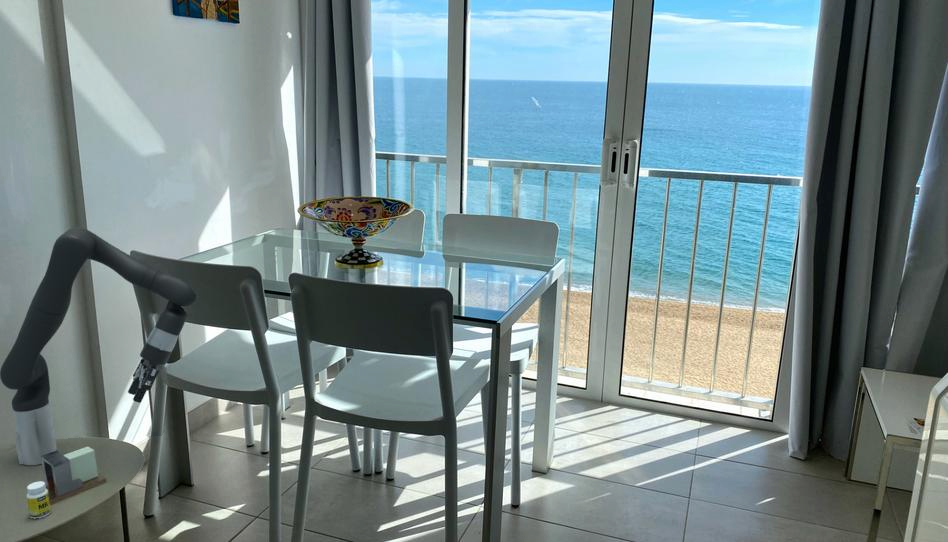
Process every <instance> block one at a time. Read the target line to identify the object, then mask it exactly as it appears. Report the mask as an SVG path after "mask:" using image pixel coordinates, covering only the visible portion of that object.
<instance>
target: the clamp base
mask: <svg viewBox="0 0 948 542" xmlns="http://www.w3.org/2000/svg"><path fill="white" fill-rule="evenodd" d="M64 455H65V454H62V453H61V452H60V451H58V449H57V450H56V451H54V452H51V453H48V454H45V455H42V456H41V460H42V464H41V466H42V470H43V477H44V482H45V486H46V489H47V490H48V495H49V501H50V506H51V505H54V504H57V503H59V502H61V501H63V500H66V499H68V498H70V497H71V498H72V497H73V496H76V495H78V494H81V493H83V492H85V491H88V490H90V489H93V488H96V487H97V486H100V485H103V484H106V483H107V477H105V476H104V475H102V474H101V473H99V472H98V476H97V477H95V478H92V479H90V480H87V481H85V482H82V480H81V479H80V478H78V479H76V480H73V479H72V473H71V467H70V461H69V459H68V458H67V457H65V456H64Z"/></svg>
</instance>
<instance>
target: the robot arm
mask: <svg viewBox="0 0 948 542" xmlns="http://www.w3.org/2000/svg"><path fill="white" fill-rule="evenodd" d="M87 260H91V261H94V262H97V263H99V264H102V265H104V266H107V267H108V268H110V269H111V270H113V271H114V272H115V273H117V274H118V275H119V276H120V277H121V278H123V279H124V280H125V281H127V282H128V283H130V284H131V285H134V286H136V287H138V288H140V289H142V290H145V291H147V292H149V293H152V294H154V295H157V296H159V297H162V298H163V299H165V300H167V304H166V306H165V308H164V310H163V311H162V313H160V316H159V317H158V319H157V321H156V324H155V325H154V327H153V329H152V330H151V332H150V334H149V335H148V337H147V339H146V341H145V343H144V346H143V347H142V348H141V350H140V351H141V352H140V353H139V356H140V358H141V359H140V361H139V363H138V365H137V367H136V368H135V370H134V372H133V374H132V382H131V384H130V386H129V389H128V390H127V393H128V394H129V395H133V398H132V401H133V402H136V403H138V404H139V403H142V401H143V399H144V396H146V393H147V391H151V389H152V387H153V385H154V383H155V381H156V379H157V377H158V374H159V373H160V370H159V369H157V368H158V366H159V365H160V366H166V364H167V362H168V361H169V358H170V356H171V354H172V352H173V350H174V348H175V346H176V344H177V341H178V338H179V336H180V334H181V332H182V329H183V327H184V325H185V323H186V321H187V317H188V316H187V314H186V312H185V311H184V309H183V308H182V307H181V306H189V305H192V304H193V303H194V302H195V303H196V301H197V299H196V294H195V293H194V291H193V290H192V288H191V287H190V286H189V285H188V284H186V283H185V282H186V281H185V282H183V281H184V280H183V281H181V280H182V279H180V278H177V277H175V276H173V275H170V274H169V273H167V272H166V273H165V271H163V270H162V269H160V268H158V267H155V266H153V265H151V264H148V263H146V262H144V261H142V260H140V259H138V258H136V257H134V256H132V255H130V254H128V253H126V252H125V251H122V250H121V249H120V248H117V247H116V246H114V245H112V243H109V242H108V241H106V240H105V239H103V238H102V237H101V236H98V234H96V233H94V232H92V231H90V230H89V229H86V228H83V227H78V226H77V227H72V228H69V229H68V230H66V231H65V232H64V233H62V234H61V235H60V236H59V237H57V239H56V240H55V242H54V244H53V246H52V251H51V254H50V258H49V261H48V264H47V269H46V272H45V274H44V276H43V277H42V280H41V281H40V283H39V284H38V285H39V286H38V287H37V289H36V291H35V294H34V295H33V297H32V300H31V302H30V305H29V307H28V309H27V312H26V315H25V317H24V320H23V322H22V324H21V327H20V329H19V331H18V335H17V337H16V339H15V342H14V343H13V346H12V348H11V349H10V351H9V353H8V354H7V356H6V358H5V359H4V361H3V363H2V365H1V366H0V367H1V368H0V381H1V383H2V385H4V386H5V387H6V388H7V389H10V390H15V391H16V392H15V394H14V396H13V397H12V399H11V408H12V412H13V413H12V414H13V418H14V424H15V430H16V433H15V434H14V437H13V438H14V442H15V446H16V447H15V449H16V453H17V458H18V464H19V465H25V466H39V465H42V460H41V456H42V455H45V454H48V453H51V452H54V451H56V450H57V451H58V448H57V443H56V436H55V431H54V424H53V419H52V412H51V405H50V401H49V397H50V393H51V392H50V391H51V387H50V386H51V385H50V376H49V368H48V364H47V361H46V359H45V357H44V356H43V355H42V354H41V353H42V351H43V350H44V348H45V347H46V345H47V344H48V343H49V342H50V341H51V339H53V337H54V336H55V335H56V333H57V332H58V330H59V329H60V327H61V326H62V324H63V323H64V320H65V318H66V315H67V313H68V311H69V308H70V305H71V301H72V300H71V299H72V291H73V290H72V289H73V286H74V283H75V280H76V278H77V276H78V275H79V273H80V270H82V268H83V265H84V264H85V263H86V262H87ZM195 303H194V304H195Z"/></svg>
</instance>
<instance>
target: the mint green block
mask: <svg viewBox="0 0 948 542" xmlns="http://www.w3.org/2000/svg"><path fill="white" fill-rule="evenodd" d="M63 455H64V456H65V457H67V458H68V459H69V461H70V467H71V473H72V479H73V480H76V479H78V478H80V479H81V480H82V482H85V481H87V480H90V479H92V478H95V477H97V476H98V473H99V472H98V467H97V461H96V460H97V459H96V453H95V450H94V449H93V448H91V447H90V446H85V447H82V448H80V449H77V450H75V451H71V452H68V453H66V454H63Z"/></svg>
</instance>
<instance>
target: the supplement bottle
mask: <svg viewBox="0 0 948 542" xmlns="http://www.w3.org/2000/svg"><path fill="white" fill-rule="evenodd" d="M26 491H27V494H26V500H27V507H28V511H29V517H30V518H31V519H32V518H34V519H33V520H36V518H39V519H43V518H46V517H47V516H48V515H50V514H51V512H52V509H51V505H50V501H49V495H48V490H47V489H46V483H45V481H34V482H32V483H30V484H29V485H27V486H26ZM42 517H43V518H42Z"/></svg>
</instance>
